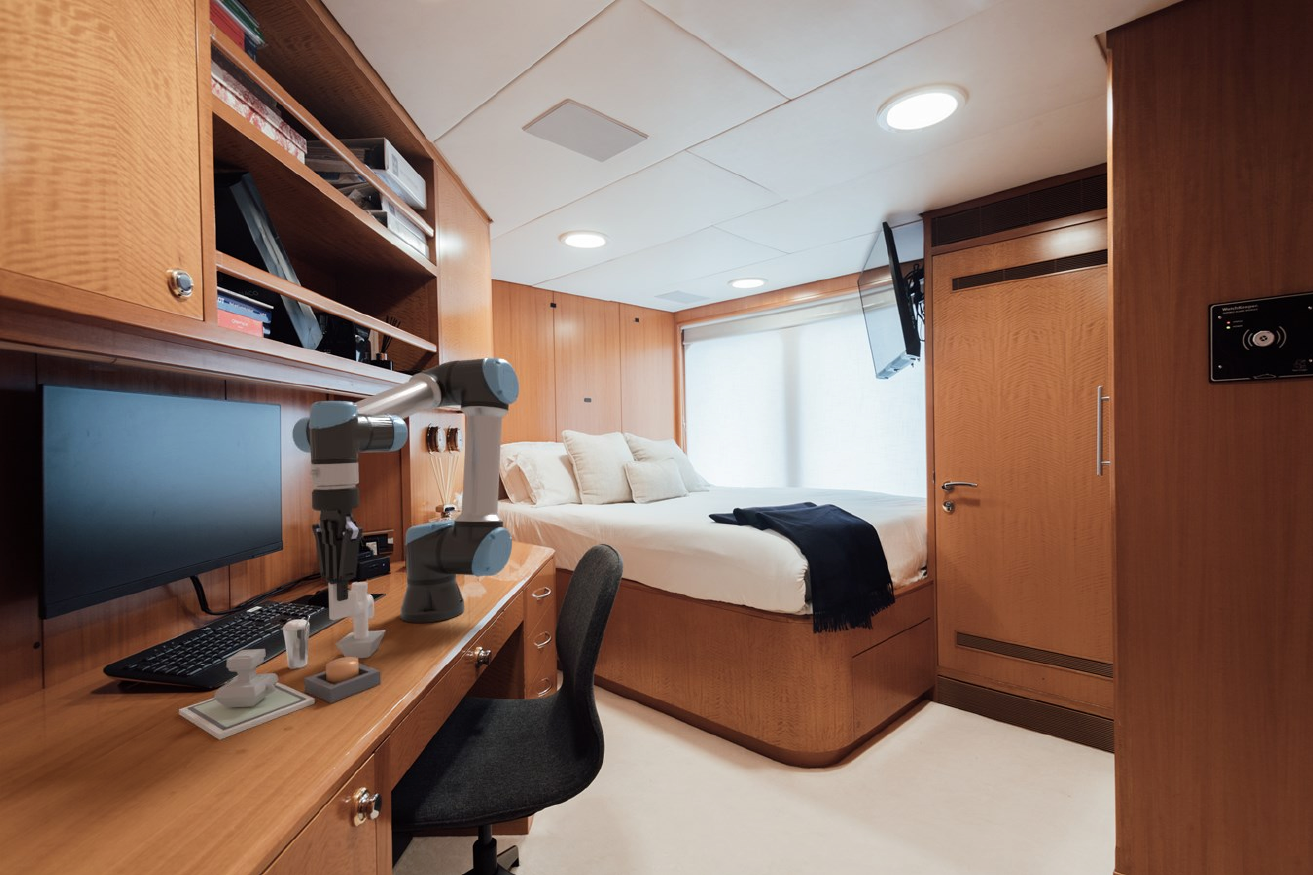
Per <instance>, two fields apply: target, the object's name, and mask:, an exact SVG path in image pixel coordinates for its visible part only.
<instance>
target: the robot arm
mask: <svg viewBox="0 0 1313 875" xmlns="http://www.w3.org/2000/svg"><path fill="white" fill-rule="evenodd" d="M519 394H520V382H519V379H518V376H517V372H516V371H515V369H514V367H513V366H512V364H511V363H510V362H509V361H507V360H506V359H504V358H500V357H499V358H498V357H497V358H495V357H493V358H492V357H484V358H477V359H475V358H474V359H464V360H462V359H461V360H450V361H447V362H444V363H440V364H438V365H436V366H434V367H433V366H432V367H431V368H428V369H426V370H423V371H421V372H419V373H415V374H413V375H412V376H411V377H410V378H409V380H408V381H407V382H405V383H401V384H399V385H396V386H394V387H392V388H389V389H387V390H383V391H382V392H379V393H376V394H374V395H371V396H369V397H367V398H364V399H362V400H358V401H356V402H353V401H347V400H346V401H345V400H343V401H342V400H324V401H323V400H321V401H316V402H314V403H312V404H311V406H310V408H309V409H310V410H309V416H305V417H301V418H300V419H298V421H297V422H295V424H294V426H293V428H292V439H293V442H294V445H295V446H296V448H298V449H299V450H300V451H302V452H304V453H307V454H308V453H309V454H310V464H311V465H310V467H311V469H310V470H309V475H310V476H311V486H312V487H315V489H312V491H311V508H312V510H314V511H315V512H316V511H317V512H320V514H319V522H317V523H314V524H312V525H311V528H312V529H311V530H312V532H313V534H314V539H315V540H314V541H315V546H316V551H317V552H316V553H317V559H318V566H319V574H320V577H321V578H325V580H326V582H327V584H328V610H329V611H328V613H329V614H328V616H329V620H331V621H337V620H340V619H343V618H349V617H348V616H349V606H348V591H349V581H351V580H353V579H355V578H356V577H357V568H358V558H359V549H360V541H361V537H362V535H363V530H364V529H363V527H362V526H356V525H355V523H354V522H355V518H354V515H353V509H356V508H358V507H359V506H360V489H359V488H358V487H357V486H356V485H357V484H359V483H360V479H359V478H360V477H359V476H360V475H359V454H361V453H362V454H363V453H389V452H396V451H399V450H400V449H402V448H403V447H404V446H405V444H406V442H407V440H408V436H409V435H408V426H407V423H406V422H405V421H404V420H405V419H406V418H408V417H411V416H413V415H415V414H418V413H420V412H421V411H427V412H428V411H433V410H435V409H437V408H440V407H441V408H442V407H443V408H444V407H451V406H452V407H453V406H455V407H457V406H460V411H461V412H462V413H463V414H464V415H465V417H466V423H465V441H464V443H465V444H464V458H463V460H464V461H463V475H462V476H463V477H462V497H461V513H460V514H459V515H458V516H457V517H456V518H455V519H454V520H453V519H446V520H439V521H434V522H433V521H432V522H427V523H421V524H417V525H413V526H411V527H408V529H407V530H406V532H405V543H404V545H405V564H406V565H405V566H406V567H405V568H406V590H405V593H404V597H403V600H402V604H401V606H400V619H401V620H402V621H403V622H407V623H415V624H416V623H419V624H424V623H433V622H439V621H445V620H448V619H452V618H455V617H458V616H459V615H461V614H462V613H464V612H465V600H464V598H463V595H462V592H461V590H460V587H459V585H458V582H457V575H458V576H459V575H463V576H475V577H479V578H480V577H491V576H495V575H497V574H499V573H500V572H501V571H502V570H503V569H504V568H505V567H506V565H507V564H508V562H509V559H510V557H511V555H512V550H513V538H512V536H511V533H510V531H509V530H508V529H506V528H505V527H504V519H503V518H502V517H501V516H500V515H499V514H498V511H499V510H498V506H499V488H500V487H499V486H500V485H499V484H500V468H501V464H500V463H501V446H502V445H501V444H502V428H503V427H502V424H503V422H502V421H503V419H504V417H505V416H506V415H508V414H509V406H510V405H512V404H513V403H515V402H516V401H517V398H518V397H519Z"/></svg>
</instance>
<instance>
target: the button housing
mask: <svg viewBox="0 0 1313 875" xmlns="http://www.w3.org/2000/svg"><path fill="white" fill-rule="evenodd" d="M358 666H359V676H357V677H354V678H352V679H349V680H346V681H343V682H341V683H338V684H335V685H333V684H331V683H329V682H326V670H324V671H321V672H318V673H315V674H313V675H310V676H307V677H304V678H303V679H304V682H303V683H304V692H305V693H308V694H309V695H311V696H314V697H316V698H319V699H321V700H324V701H326V702H328V703H330V704H333V703H335V702H337V701H340V700H344V699H346V698H348V697H351V696H353V695H356V694H358V693H361V692H363V691H365V690H369V689H371V688H374V687H375V686H379V685H381V684H382V683H381V682H382V681H381V670H379V669H375V668H374V667H370V666H368V665H365V664H362V663H359V662H358Z"/></svg>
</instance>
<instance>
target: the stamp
mask: <svg viewBox="0 0 1313 875" xmlns="http://www.w3.org/2000/svg"><path fill="white" fill-rule="evenodd" d="M266 654H267V653H266V648H257V649H241V650H239V651H238V652H237V653H235V654H234V655H232V656H230V657H229V658H227V659H226V668H227V669H228V671H229V672H236V673H237V677H235V678H233V679H231V680H230V681H228V682H226V683H224V685H222V686H220V687H219V688H218V689H217V690H216V691H215V693H214V694H213V695H214V697H213V698H214V699H215V700H217V701H218V702H219V703H221V704H222V705H224V706H225V707H226V708H229V707H251V706H254V705H255V704H257V703H258V702H259V701H261V700H262V699H264V698H265V697H266V696H268V695H269V694H271V693H273V692H274V691H275V687H274V686H275V685H276V683H277V682H278V681H279V676H278V674H276V673H273V672H270V673H269V672H267V673H256V672H257V671H256V669H257V667H258V666H259V665H261V664H262V663H263V662H264V661H265V660H264V658H265V657H266Z"/></svg>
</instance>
